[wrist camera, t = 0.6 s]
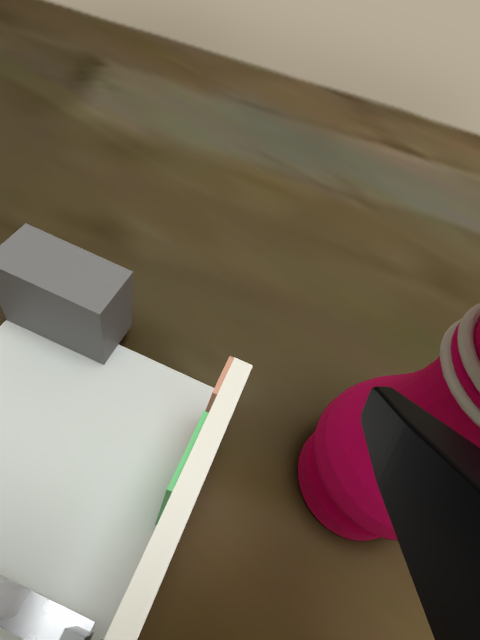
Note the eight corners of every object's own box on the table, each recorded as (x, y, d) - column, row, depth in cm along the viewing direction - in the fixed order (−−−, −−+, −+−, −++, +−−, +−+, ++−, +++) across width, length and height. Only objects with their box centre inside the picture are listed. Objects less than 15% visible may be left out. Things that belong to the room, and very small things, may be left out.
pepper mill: (350, 585, 20) (1163, 476, 4) (262, 459, 23) (573, 105, 7) (433, 498, 24) (1051, 263, 8) (348, 397, 26) (686, 68, 11)
